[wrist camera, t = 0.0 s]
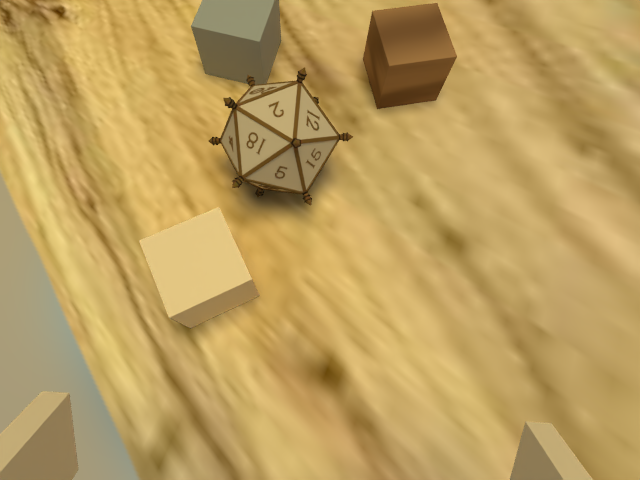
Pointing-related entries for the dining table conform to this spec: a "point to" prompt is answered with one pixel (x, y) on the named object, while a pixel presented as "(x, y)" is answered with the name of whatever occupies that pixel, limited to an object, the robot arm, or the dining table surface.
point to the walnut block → (407, 55)
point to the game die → (278, 137)
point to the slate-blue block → (238, 38)
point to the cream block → (198, 269)
